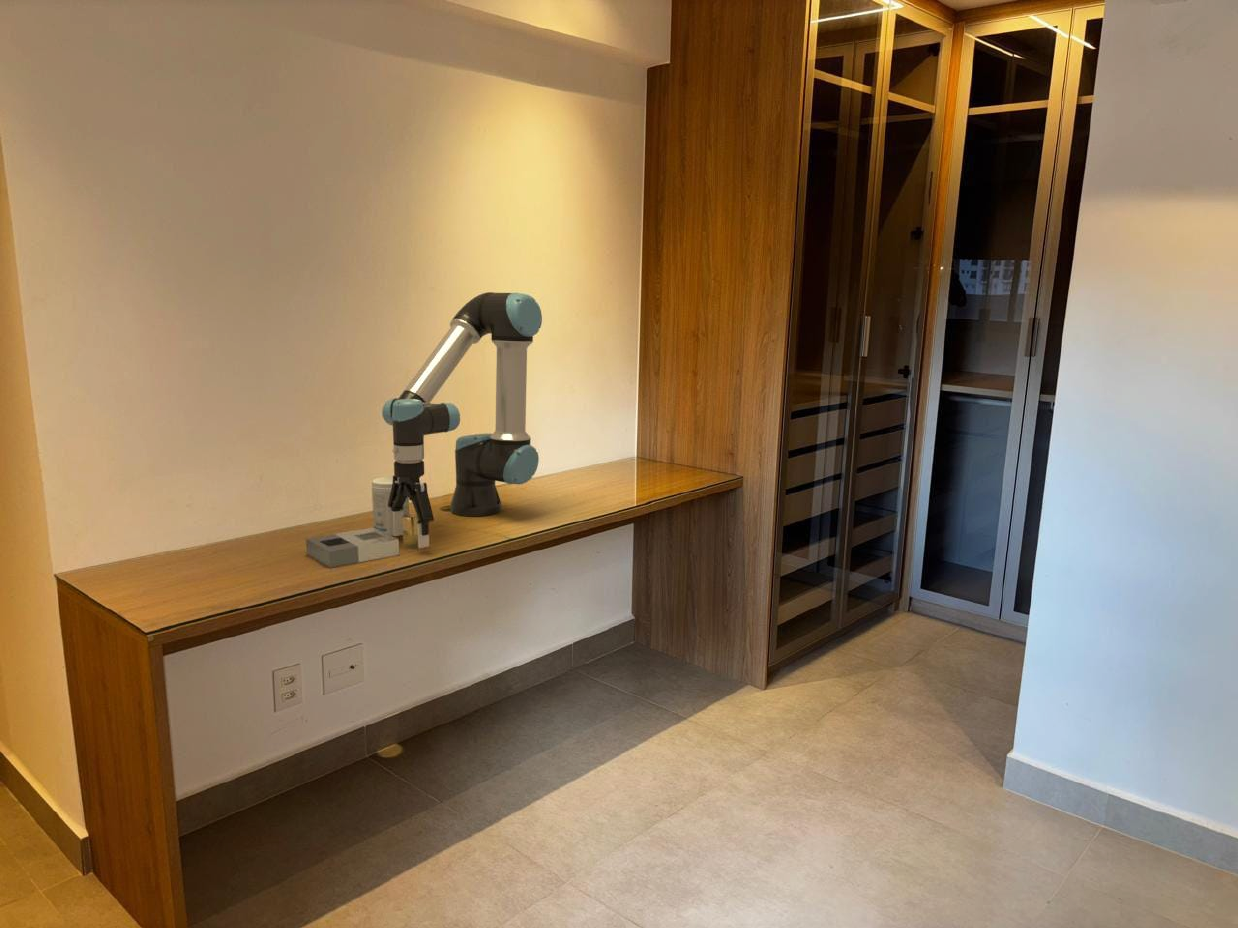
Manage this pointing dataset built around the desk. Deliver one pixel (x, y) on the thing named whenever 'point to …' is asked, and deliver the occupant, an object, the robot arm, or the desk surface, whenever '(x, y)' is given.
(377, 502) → the supplement tub
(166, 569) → the desk surface
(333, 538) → the block
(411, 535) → the amber translucent cylinder
